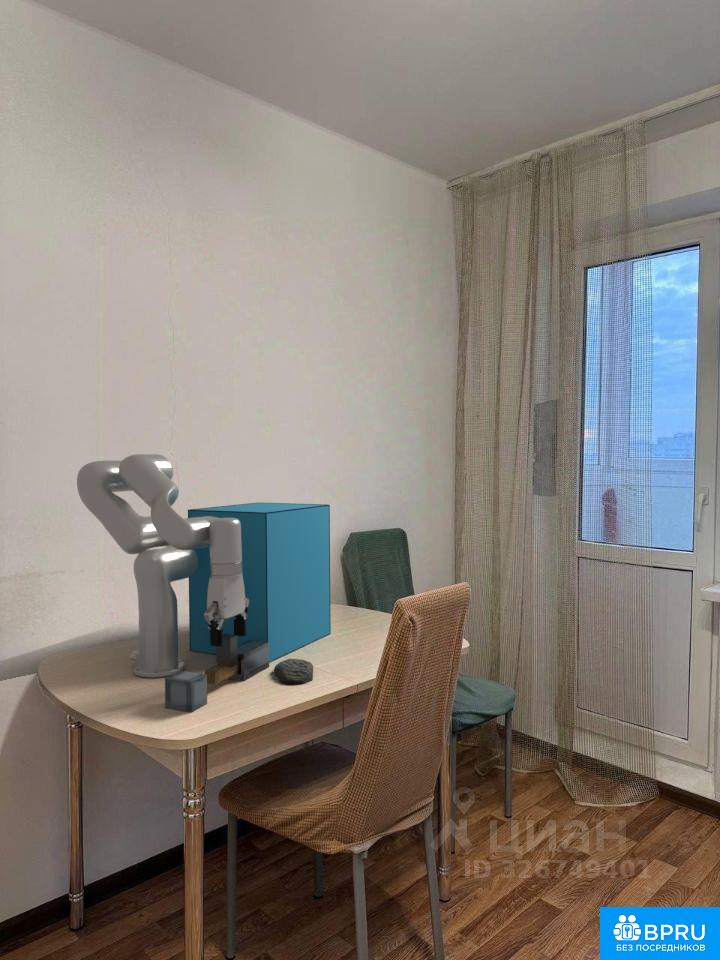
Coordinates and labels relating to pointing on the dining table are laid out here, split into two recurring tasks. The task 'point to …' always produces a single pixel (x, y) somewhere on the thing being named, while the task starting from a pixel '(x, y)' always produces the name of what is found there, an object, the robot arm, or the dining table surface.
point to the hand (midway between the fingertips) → (228, 640)
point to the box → (272, 576)
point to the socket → (186, 691)
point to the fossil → (294, 672)
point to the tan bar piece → (225, 661)
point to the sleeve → (252, 659)
